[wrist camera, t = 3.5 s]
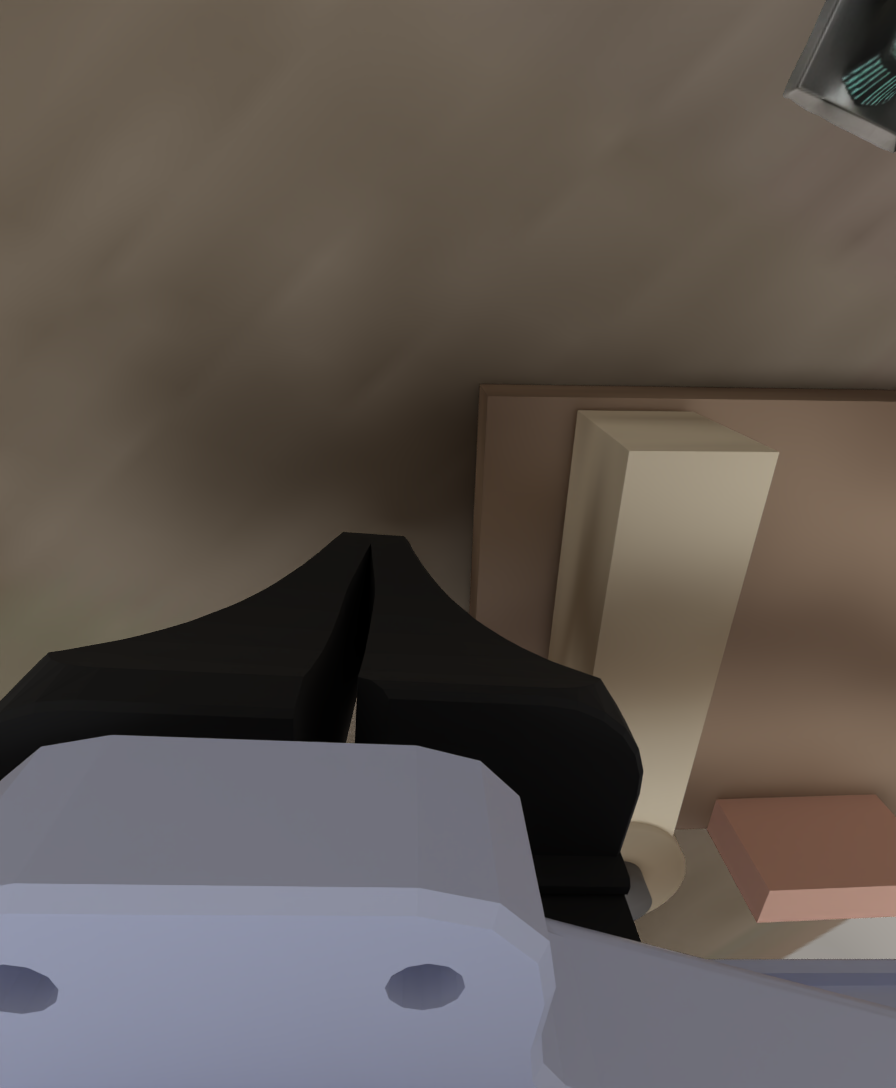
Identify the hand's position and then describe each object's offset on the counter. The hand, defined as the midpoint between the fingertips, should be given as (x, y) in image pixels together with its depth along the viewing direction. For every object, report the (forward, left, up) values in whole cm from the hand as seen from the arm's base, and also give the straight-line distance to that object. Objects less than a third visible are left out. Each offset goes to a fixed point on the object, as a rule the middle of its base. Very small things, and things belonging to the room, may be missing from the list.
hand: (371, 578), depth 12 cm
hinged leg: (-3, -5, -1) cm, 6 cm away
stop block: (-9, -12, -1) cm, 15 cm away
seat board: (-3, -9, -3) cm, 10 cm away
